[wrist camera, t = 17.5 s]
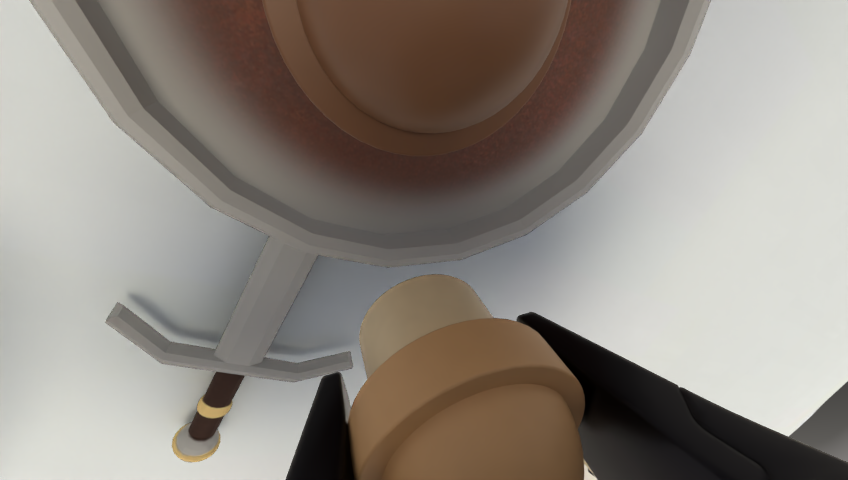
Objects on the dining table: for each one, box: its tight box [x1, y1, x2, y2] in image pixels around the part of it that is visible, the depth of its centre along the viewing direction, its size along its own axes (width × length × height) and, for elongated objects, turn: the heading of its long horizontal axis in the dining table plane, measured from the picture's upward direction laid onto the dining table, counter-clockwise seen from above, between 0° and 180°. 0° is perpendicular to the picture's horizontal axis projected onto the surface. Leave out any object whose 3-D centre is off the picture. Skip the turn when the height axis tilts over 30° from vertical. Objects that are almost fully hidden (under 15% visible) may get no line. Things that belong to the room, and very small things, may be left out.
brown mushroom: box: [262, 0, 571, 156], centre depth 6 cm, size 5×5×5 cm
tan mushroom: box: [348, 274, 585, 480], centre depth 7 cm, size 5×5×5 cm
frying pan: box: [29, 0, 711, 462], centre depth 11 cm, size 17×3×28 cm
